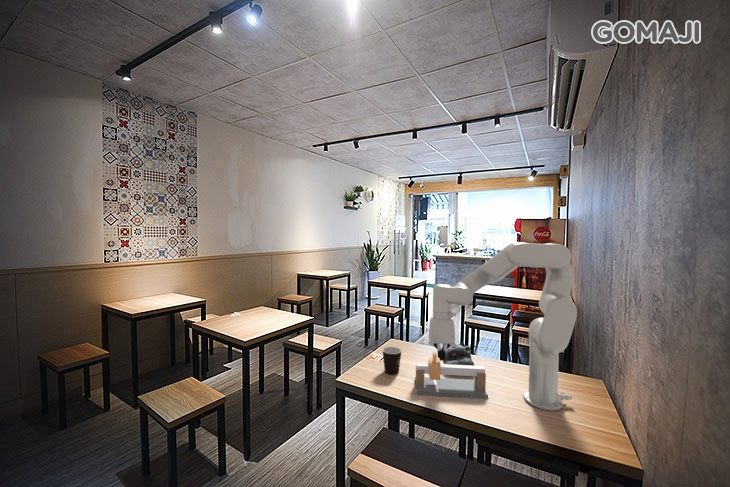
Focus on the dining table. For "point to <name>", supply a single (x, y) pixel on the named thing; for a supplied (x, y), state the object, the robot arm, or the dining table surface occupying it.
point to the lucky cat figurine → (458, 355)
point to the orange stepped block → (434, 367)
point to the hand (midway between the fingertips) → (441, 359)
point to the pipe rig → (452, 381)
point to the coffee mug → (391, 360)
